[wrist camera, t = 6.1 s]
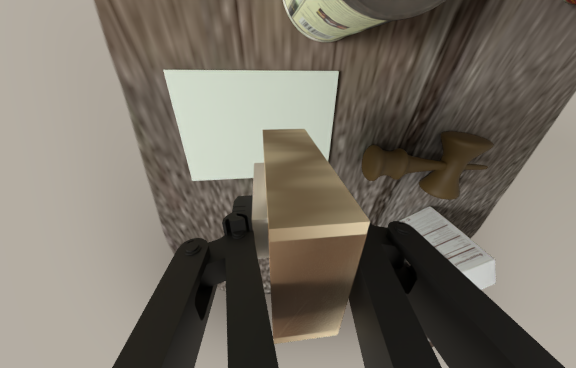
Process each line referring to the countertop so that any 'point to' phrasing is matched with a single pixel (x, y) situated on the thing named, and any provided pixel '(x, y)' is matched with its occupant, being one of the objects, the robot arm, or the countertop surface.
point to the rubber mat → (246, 114)
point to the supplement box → (455, 246)
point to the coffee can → (350, 15)
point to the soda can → (570, 1)
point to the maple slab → (308, 237)
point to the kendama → (430, 163)
